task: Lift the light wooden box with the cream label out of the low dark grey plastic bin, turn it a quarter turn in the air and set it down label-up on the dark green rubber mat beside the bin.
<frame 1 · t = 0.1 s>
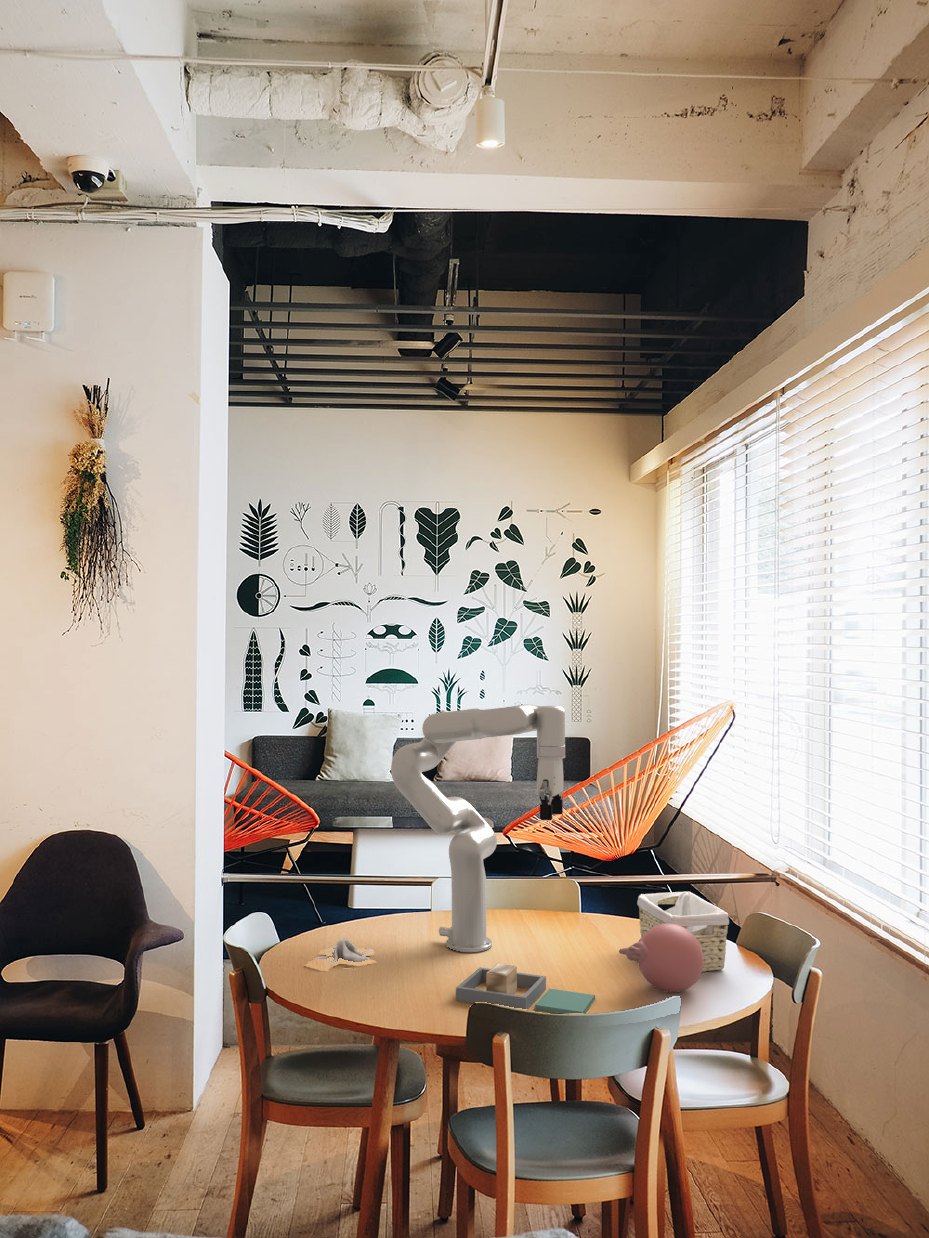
hand: (551, 816, 244), 37 cm above the table, tool pointing down, fingers open, 9 cm apart
mat: (565, 1004, 209), on the table
storage basket: (682, 960, 240), on the table
label box: (501, 995, 215), resting in bin
cloth: (347, 963, 240), on the table
bin: (501, 994, 215), on the table
pink balloon: (660, 991, 217), on the table
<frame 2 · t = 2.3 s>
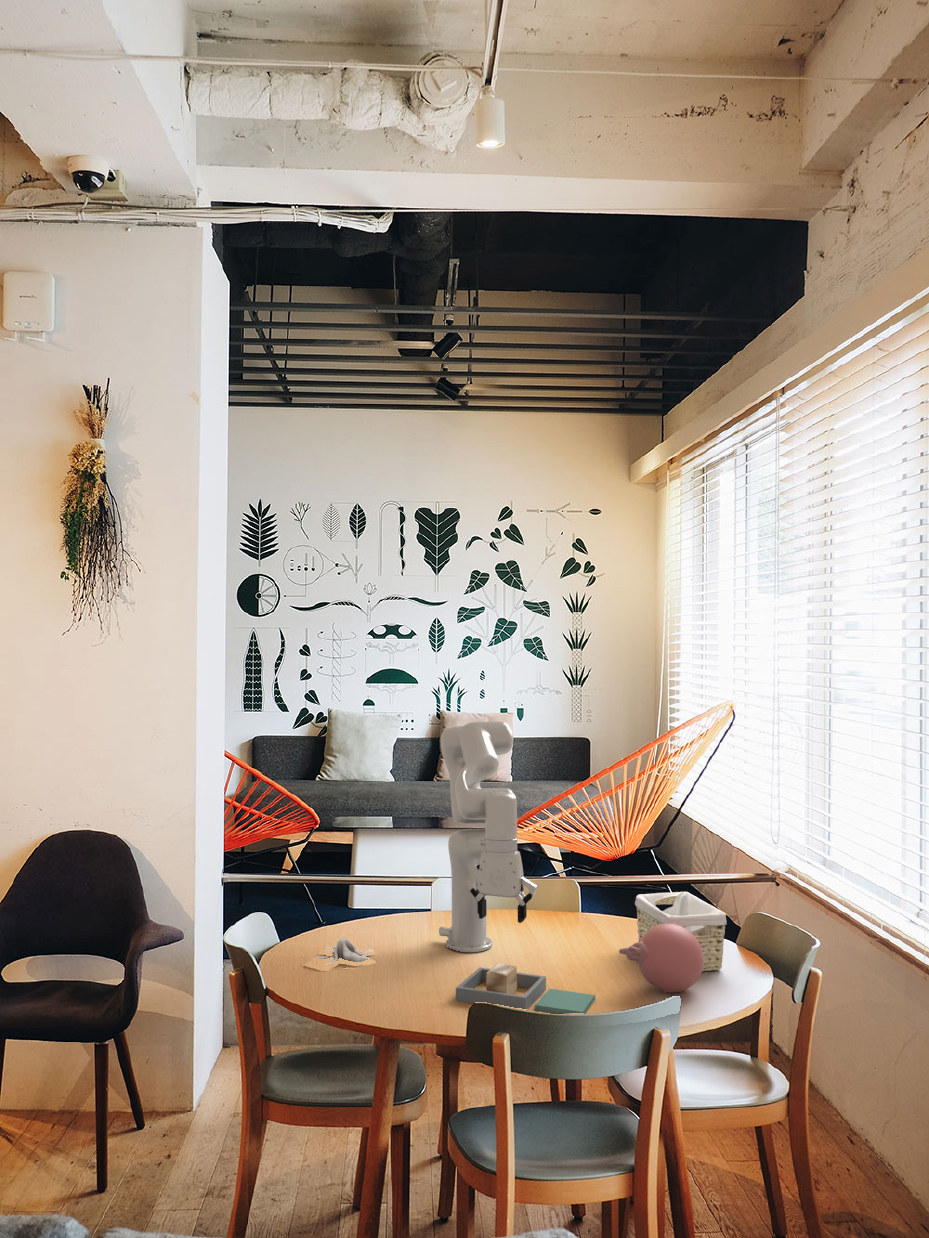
hand: (501, 919, 215), 18 cm above the table, tool pointing down, fingers open, 9 cm apart
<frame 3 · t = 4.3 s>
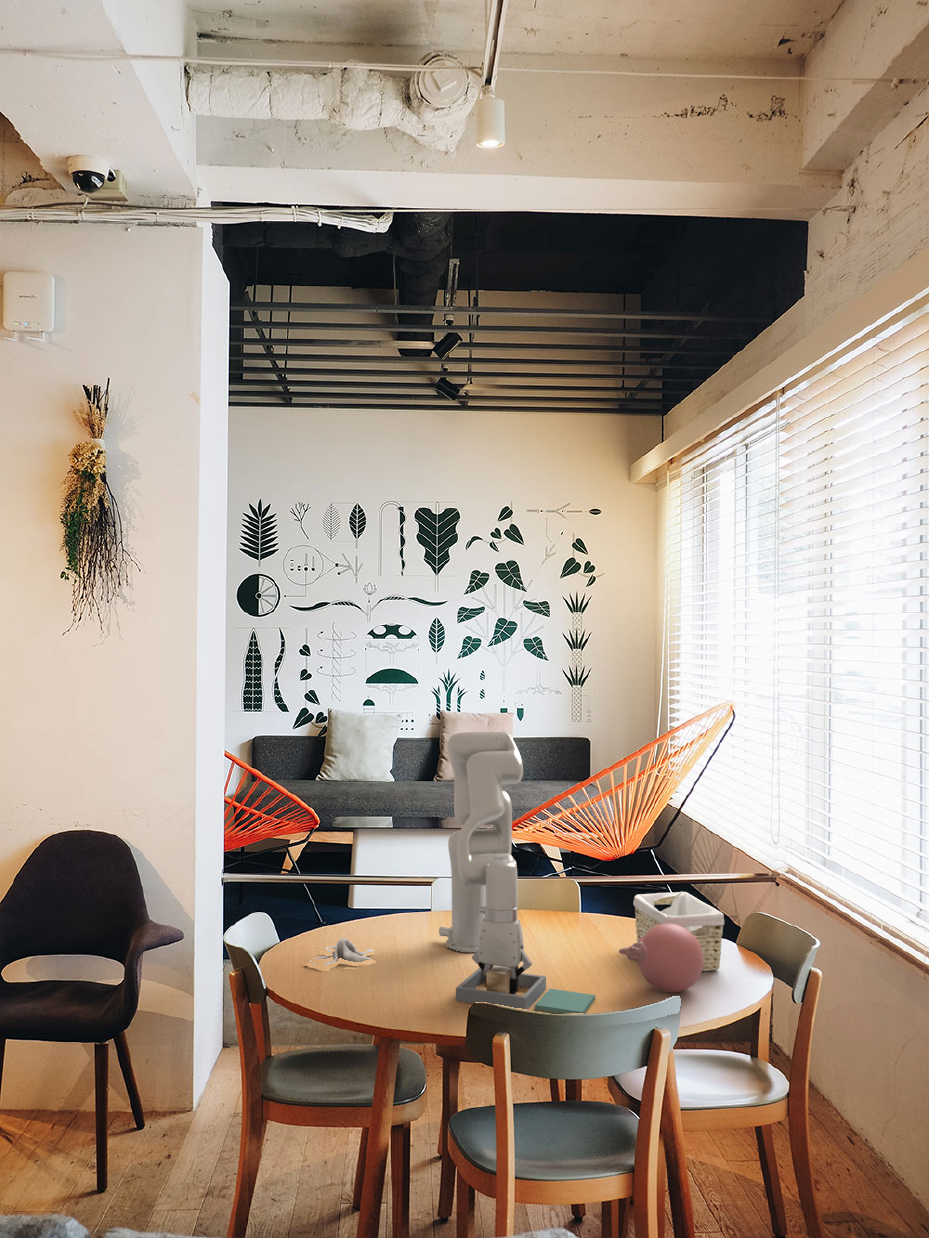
hand: (501, 991, 215), 1 cm above the table, tool pointing down, fingers closed on label box, 5 cm apart
label box: (501, 995, 215), resting in bin, touching gripper
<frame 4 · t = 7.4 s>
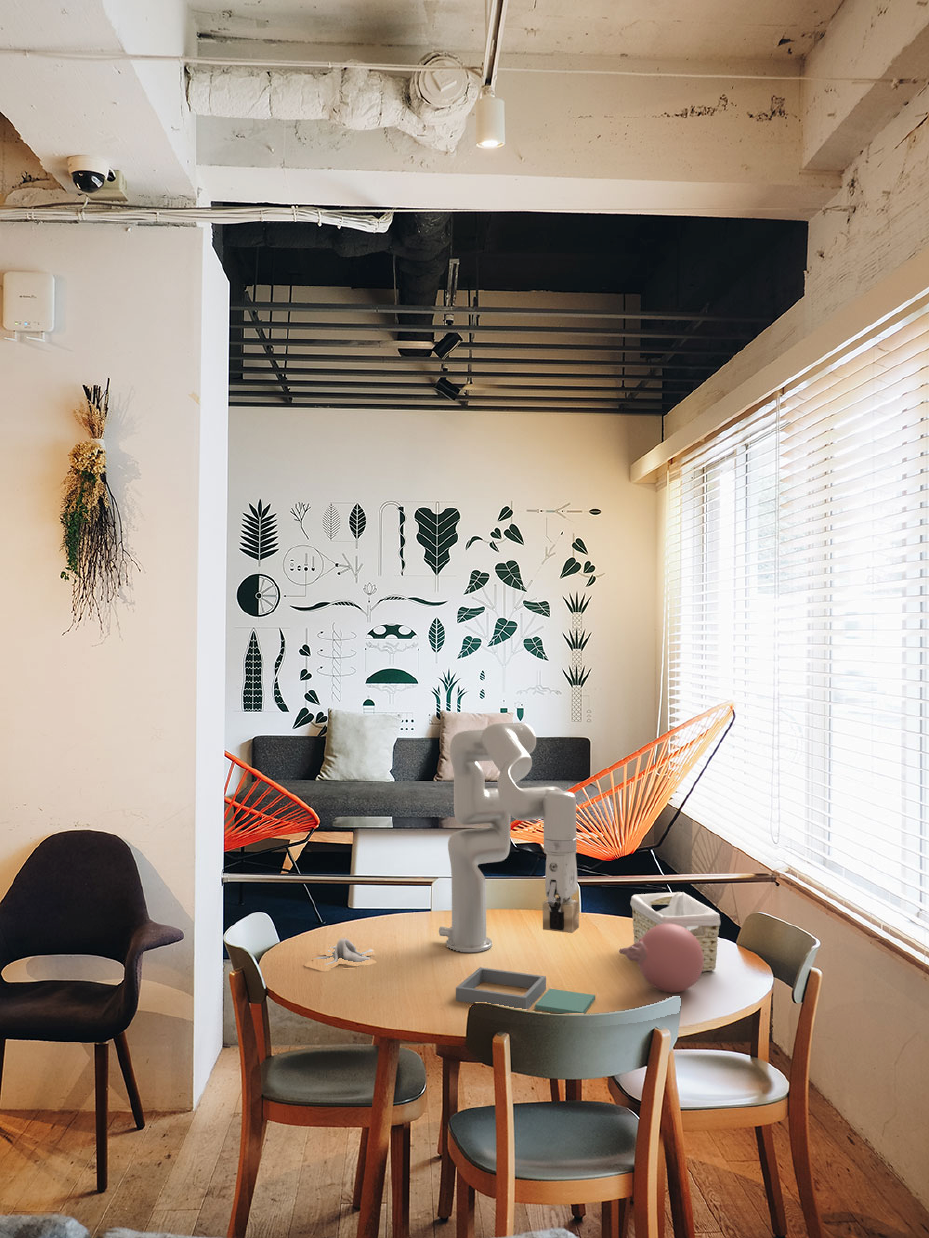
hand: (560, 925, 210), 18 cm above the table, tool pointing down, fingers closed on label box, 5 cm apart
label box: (560, 928, 210), point 17 cm above the table, touching gripper
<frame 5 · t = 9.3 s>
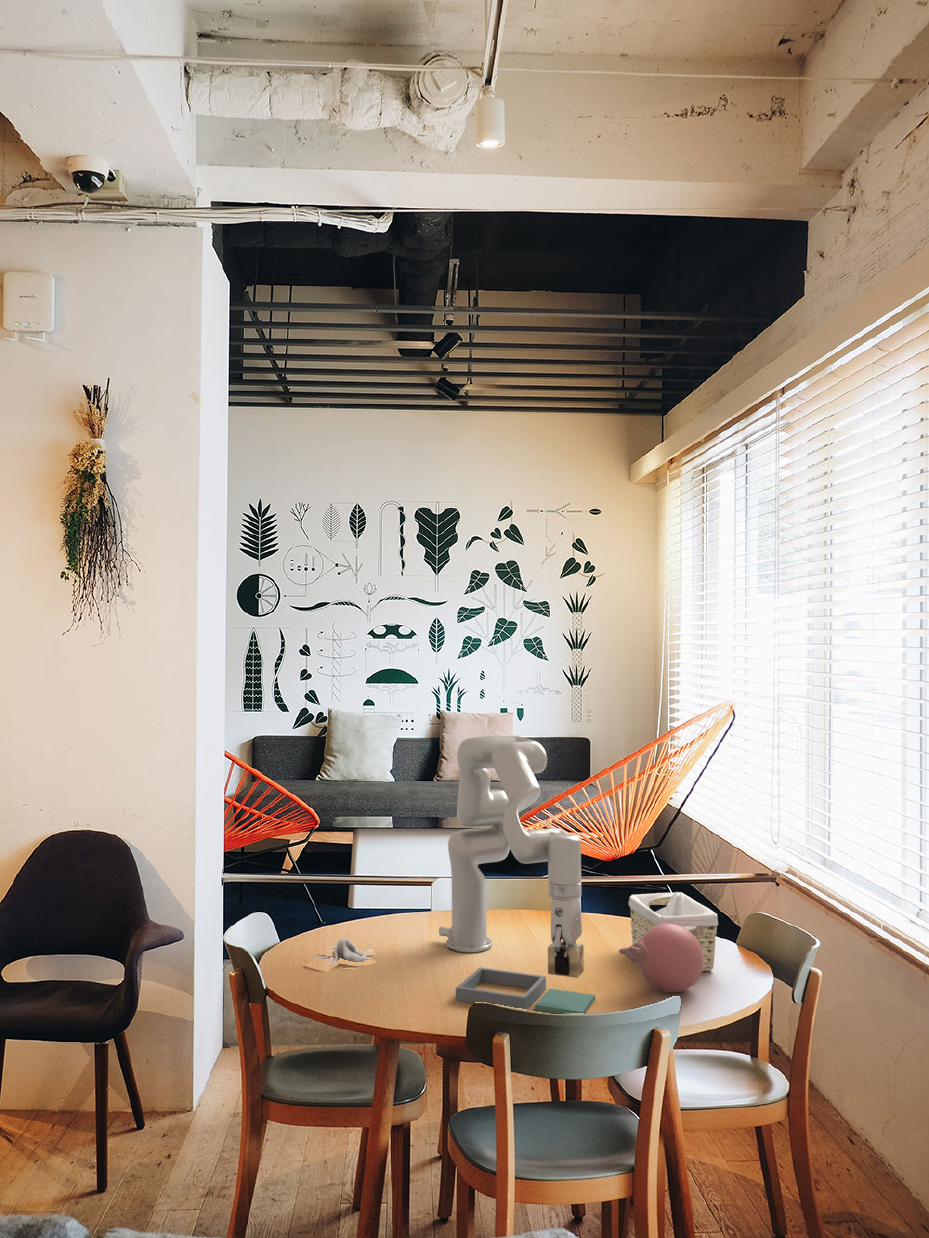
hand: (565, 969, 209), 8 cm above the table, tool pointing down, fingers closed on label box, 5 cm apart
label box: (565, 972, 209), point 7 cm above the table, touching gripper
when the fingers open (3 cm above the table, at t = 10.7 s): label box drops 1 cm, resting on mat.
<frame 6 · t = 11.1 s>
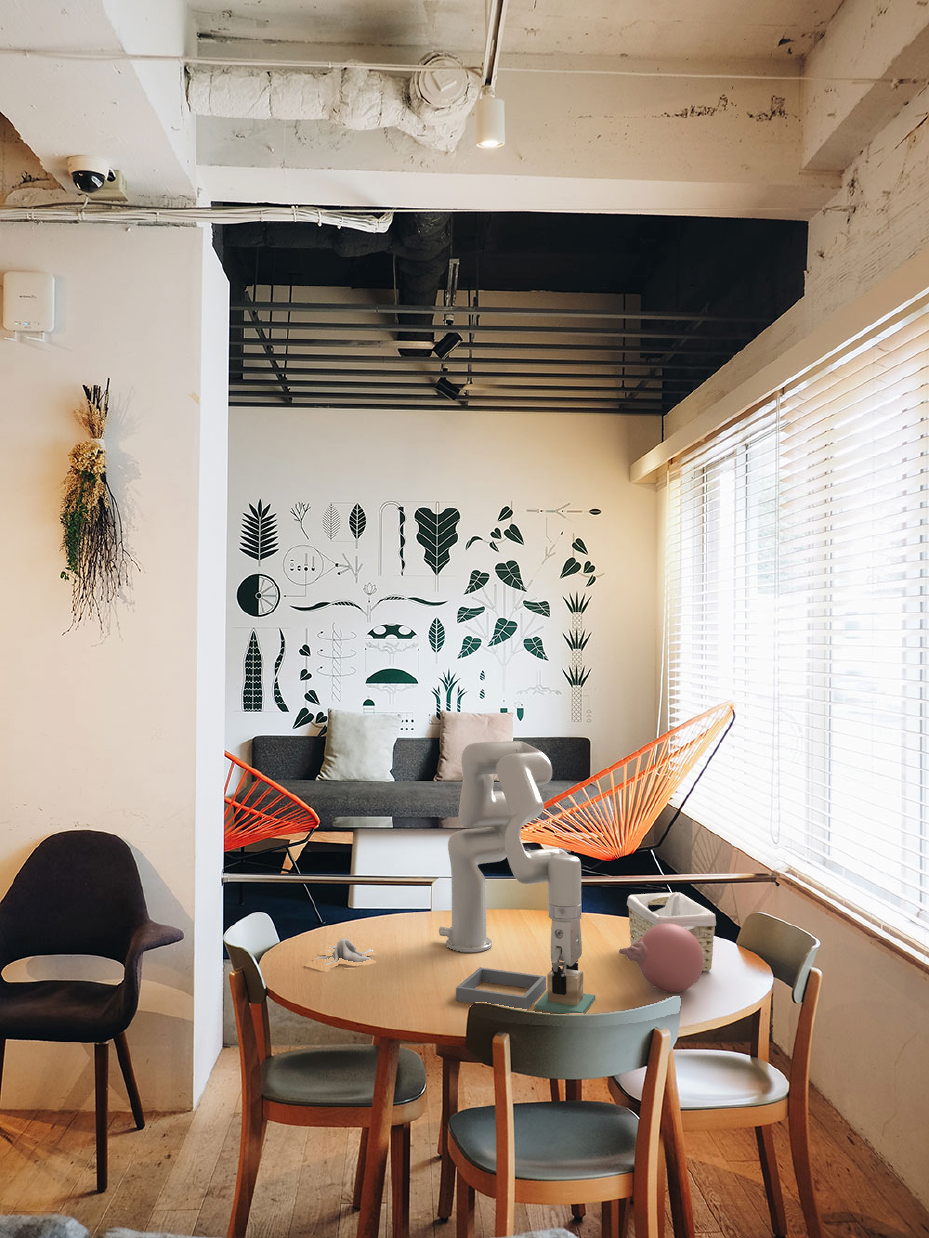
hand: (565, 986, 209), 4 cm above the table, tool pointing down, fingers open, 9 cm apart
label box: (565, 999, 209), point 1 cm above the table, touching mat
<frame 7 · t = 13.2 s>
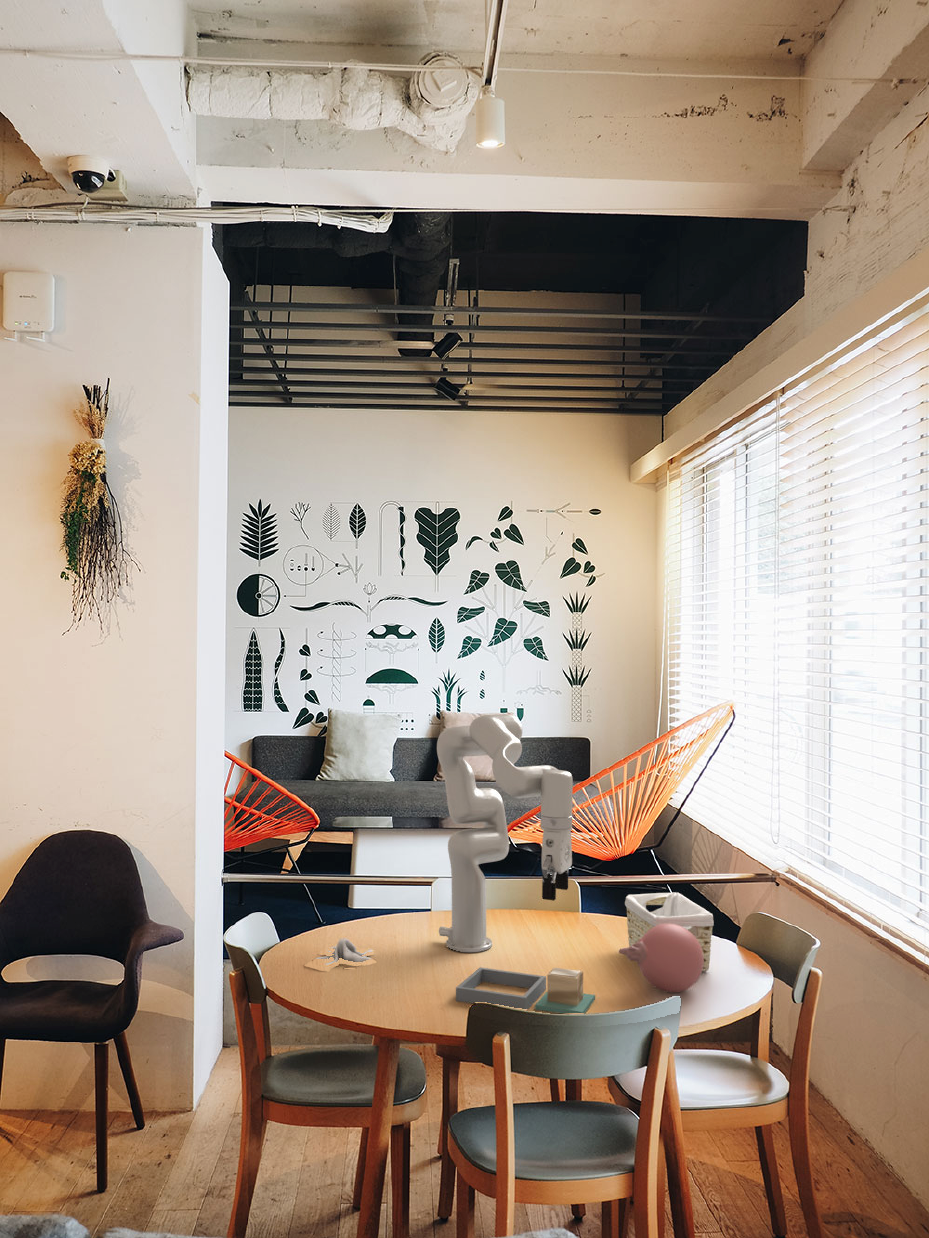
hand: (555, 894, 219), 22 cm above the table, tool pointing down, fingers open, 9 cm apart
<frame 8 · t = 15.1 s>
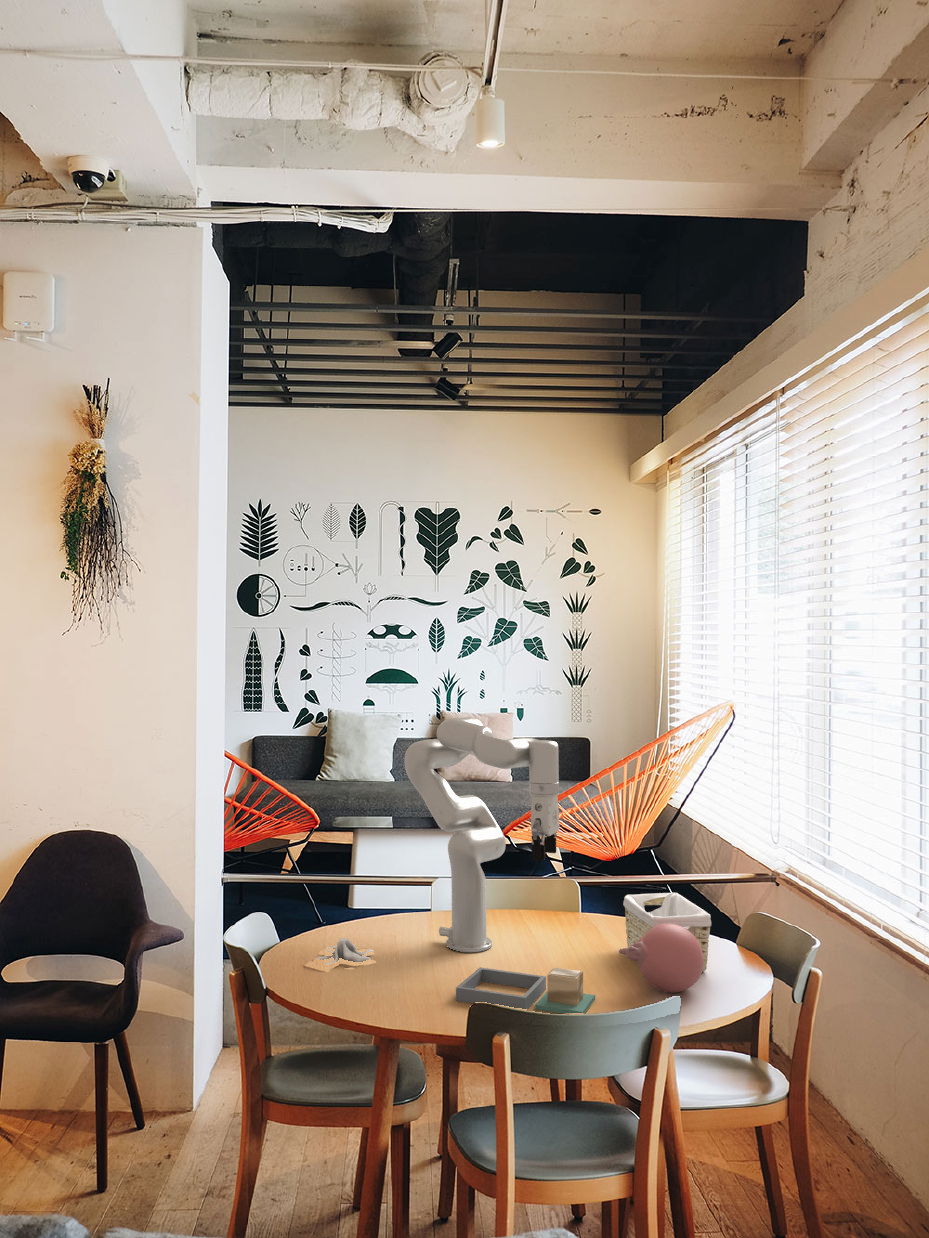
hand: (544, 856, 234), 28 cm above the table, tool pointing down, fingers open, 9 cm apart
at the end: label box inside the target area on the mat (0.1 cm from its centre), point 1.0 cm above the mat's base; label box tilted 0°; the gripper is holding nothing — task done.
